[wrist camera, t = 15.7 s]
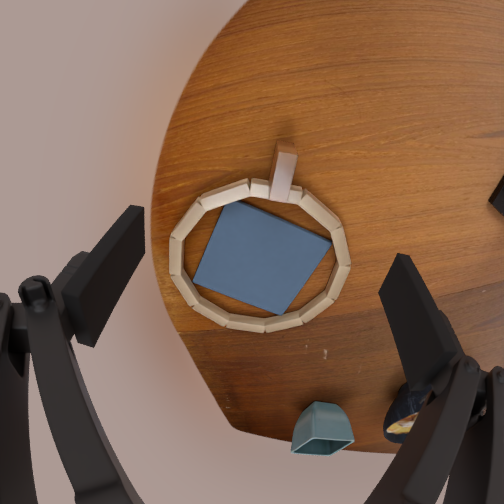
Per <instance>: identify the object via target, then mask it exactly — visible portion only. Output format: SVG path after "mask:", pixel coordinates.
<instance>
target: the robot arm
mask: <svg viewBox="0 0 504 504" xmlns="http://www.w3.org/2000/svg"><path fill="white" fill-rule="evenodd" d="M144 235H145V230H144V207H141V206H134V205H130V206H129V207H128V208H127V209H126V210H125V212H124V213H123V214H122V215H121V216H120V217H119V218H118V219H117V221H116V222H115V223H114V224H113V225H112V227H111V228H110V229H109V230H108V231H107V233H106V234H105V235H104V236H103V237H102V239H101V240H100V241H99V242H98V244H97V245H96V246H95V247H94V248H93V250H92V251H91V252H90V253H88V252H84V251H82V252H80V253H78V254H77V255H75V256H74V257H72V259H71V260H70V261H69V262H68V264H67V266H65V267H64V269H63V270H62V272H61V273H60V274H59V275H58V276H57V278H56V279H55V280H54V281H53V283H52V284H50V282H49V280H48V279H47V278H46V277H44V276H40V275H37V276H32V277H29V278H27V279H26V280H25V281H23V282H22V283H21V285H20V286H19V289H18V293H19V296H20V298H21V301H22V303H11V301H10V299H9V297H8V295H7V294H5V293H0V504H38V501H37V496H36V490H35V484H34V477H33V470H32V461H31V451H30V439H29V419H28V381H29V361H30V353H31V355H32V361H33V366H34V370H35V375H36V380H37V384H38V388H39V392H40V396H41V400H42V403H43V407H44V411H45V414H46V417H47V421H48V424H49V427H50V430H51V433H52V436H53V439H54V442H55V444H56V447H57V450H58V453H59V455H60V458H61V461H62V463H63V465H64V468H65V470H66V473H67V475H68V477H69V480H70V482H71V484H72V486H73V489H74V492H75V503H76V504H144V502H143V501H142V499H141V498H140V497H139V495H138V494H137V492H136V491H135V489H134V487H133V485H132V484H131V482H130V480H129V479H128V477H127V475H126V473H125V471H124V469H123V468H122V466H121V464H120V462H119V460H118V459H117V456H116V454H115V452H114V450H113V448H112V446H111V444H110V442H109V440H108V438H107V436H106V434H105V432H104V429H103V427H102V425H101V423H100V420H99V418H98V416H97V413H96V411H95V409H94V406H93V404H92V401H91V399H90V396H89V394H88V391H87V388H86V386H85V383H84V380H83V377H82V374H81V372H80V369H79V366H78V363H77V360H76V357H75V354H74V350H73V347H72V344H71V342H70V340H71V339H72V337H73V335H74V334H75V336H76V339H77V342H78V343H80V344H83V345H87V346H90V347H93V348H94V347H95V344H96V342H97V340H98V338H99V336H100V334H101V332H102V330H103V328H104V327H105V325H106V323H107V321H108V319H109V317H110V315H111V313H112V311H113V309H114V307H115V305H116V304H117V302H118V300H119V298H120V296H121V294H122V292H123V291H124V289H125V287H126V285H127V283H128V282H129V280H130V278H131V276H132V275H133V273H134V271H135V269H136V268H137V266H138V264H139V262H140V261H141V259H142V257H143V256H144V254H145V236H144ZM378 293H379V296H380V299H381V302H382V304H383V307H384V310H385V313H386V316H387V319H388V322H389V324H390V327H391V330H392V334H393V337H394V340H395V343H396V346H397V349H398V352H399V356H400V359H401V362H402V366H403V369H404V372H405V376H406V380H407V383H408V387H409V390H410V391H422V390H424V389H425V388H426V387H427V386H428V385H429V384H430V383H431V386H432V390H431V391H430V392H429V393H428V394H427V395H425V396H424V397H423V398H422V399H421V401H420V402H419V403H420V404H421V403H422V402H423V401H424V403H423V405H422V407H421V410H420V412H419V414H418V416H417V418H416V420H415V422H414V424H413V425H412V427H411V429H410V431H409V433H408V435H407V437H406V439H405V440H404V442H403V444H402V446H401V447H400V449H399V451H398V453H397V454H396V456H395V458H394V459H393V461H392V463H391V464H390V466H389V467H388V469H387V471H386V472H385V474H384V475H383V477H382V479H381V480H380V481H379V483H378V484H377V486H376V487H375V489H374V490H373V492H372V493H371V495H370V496H369V497H368V499H367V500H366V501H365V503H364V504H435V503H436V501H437V499H438V497H439V495H440V493H441V491H442V489H443V486H444V485H445V482H446V480H447V478H448V476H449V480H448V485H447V489H446V494H445V498H444V502H443V504H504V369H503V368H502V367H499V366H496V367H494V368H493V369H492V370H491V371H490V372H486V371H483V370H481V369H480V366H479V364H478V363H477V361H476V360H475V359H473V358H472V357H470V356H466V355H465V354H464V352H463V349H462V347H461V345H460V343H459V341H458V338H457V336H456V334H454V333H455V332H454V330H453V328H451V324H450V322H449V320H448V318H447V317H446V315H445V314H444V313H443V312H442V311H441V310H438V308H437V306H436V304H435V302H434V300H433V298H432V296H431V294H430V292H429V290H428V288H427V286H426V285H425V283H424V281H423V279H422V277H421V275H420V274H419V272H418V270H417V268H416V267H415V265H414V263H413V261H412V260H411V258H410V256H409V255H405V254H400V253H397V255H396V258H395V260H394V262H393V264H392V266H391V268H390V270H389V272H388V274H387V276H386V278H385V280H384V282H383V284H382V286H381V288H380V290H379V292H378ZM485 408H486V413H485V415H483V410H484V409H485ZM449 473H450V475H449Z"/></svg>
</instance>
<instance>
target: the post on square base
mask: <svg viewBox="0 0 504 504" xmlns="http://www.w3.org/2000/svg"><path fill="white" fill-rule="evenodd" d="M488 201H489V202H490V203H491V204H492V205H493V206H494V207H495V208H496V209H497V210H498V211H499V212H500V213H501V214H502V215H503V216H504V176H503V178H502V179H501V181H500V183H499V184H498V186H497V188H496V189H495V191H494V192H493V194H492V196H491V197H490V199H489V200H488Z"/></svg>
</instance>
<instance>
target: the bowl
mask: <svg viewBox="0 0 504 504" xmlns="http://www.w3.org/2000/svg"><path fill="white" fill-rule="evenodd" d="M431 390H432V386H431V383H430V384H429V385H428V386H427V387H426V388H425V389H424V390H422V391H410V390H409V387H408V383H406V384H404V385H403V386H402V387H401V388H400V390H399V393H398V396H397V398H396V399H395V401H394V402H393V403H392V405H391V406H390V408H389V410H388V412H387V414H386V417H385V420H384V424H383V431H384V437H385V438H386V439H387V440H389V441H391V442H394V443H400V444H403V442H404V440H405V439H406V437H407V435H408V433H409V431H410V429H411V427H412V425H413V424H414V422H415V420H416V418H417V416H418V414H419V412H420V410H421V407H422V405H423V403H424V401H423V402H422V403H421V404H420V403H419V402H420V401H421V399H422V398H423V397H424V396H425V395H427V394H428V393H429V392H430V391H431Z"/></svg>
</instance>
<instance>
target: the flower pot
mask: <svg viewBox="0 0 504 504" xmlns="http://www.w3.org/2000/svg"><path fill="white" fill-rule="evenodd" d="M354 441H355V440H354V436H353V432H352V429H351V425H350V422H349V419H348V417H347V415H346V414H345V412H344V411H343V410H342V409H341V408H340V407H339V406H338V405H337V404H332V403H325V402H318V401H315V402H313V403H312V404H311V405H310V406H309V407H308V408H306V409H305V410H304V411H303V412H302V414H301V415H300V417H299V419H298V421H297V423H296V425H295V428H294V432H293V438H292V446H291V453H294V454H306V455H322V456H331V455H333V454H334V453H336V452H338V451H340V450H341V449H343V448H344V447H346V446H348V445H349V444H351V443H353V442H354Z"/></svg>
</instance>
